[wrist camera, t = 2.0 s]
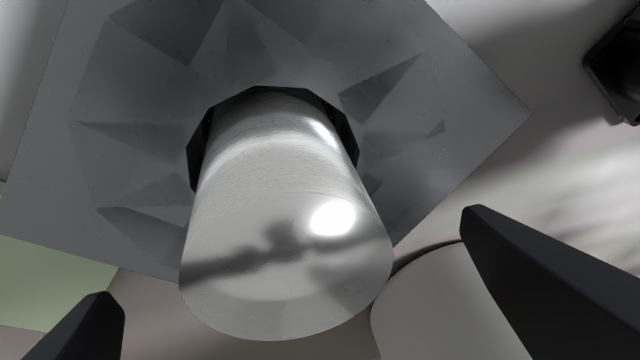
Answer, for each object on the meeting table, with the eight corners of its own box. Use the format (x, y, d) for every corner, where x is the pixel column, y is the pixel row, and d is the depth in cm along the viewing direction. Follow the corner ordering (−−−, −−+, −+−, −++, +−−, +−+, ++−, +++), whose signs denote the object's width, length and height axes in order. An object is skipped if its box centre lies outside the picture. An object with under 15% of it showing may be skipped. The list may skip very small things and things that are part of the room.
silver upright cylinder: (344, 107, 15) (434, 245, 8) (285, 184, 17) (314, 354, 10) (250, 41, 13) (254, 152, 6) (193, 138, 15) (140, 316, 8)
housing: (473, 80, 16) (533, 113, 12) (305, 264, 21) (316, 321, 18) (191, -193, 9) (162, -273, 6) (47, 169, 14) (-11, 231, 11)
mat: (140, 228, 17) (136, 238, 16) (82, 325, 20) (77, 338, 20) (-98, 147, 13) (-117, 157, 12) (-123, 286, 16) (-138, 300, 15)
